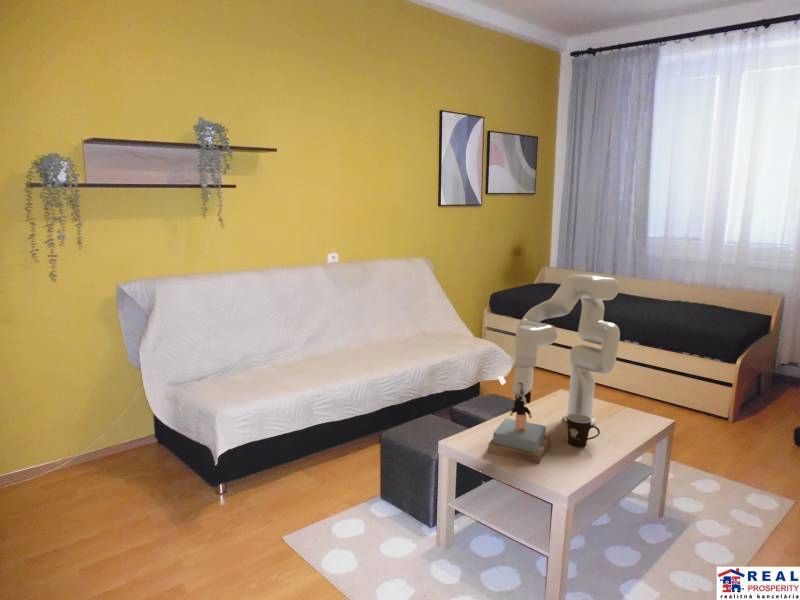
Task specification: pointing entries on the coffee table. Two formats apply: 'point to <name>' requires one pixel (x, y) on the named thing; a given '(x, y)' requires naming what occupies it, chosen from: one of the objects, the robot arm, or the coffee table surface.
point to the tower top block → (519, 435)
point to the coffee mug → (579, 429)
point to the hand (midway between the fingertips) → (522, 406)
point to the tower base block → (521, 451)
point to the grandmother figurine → (521, 418)
